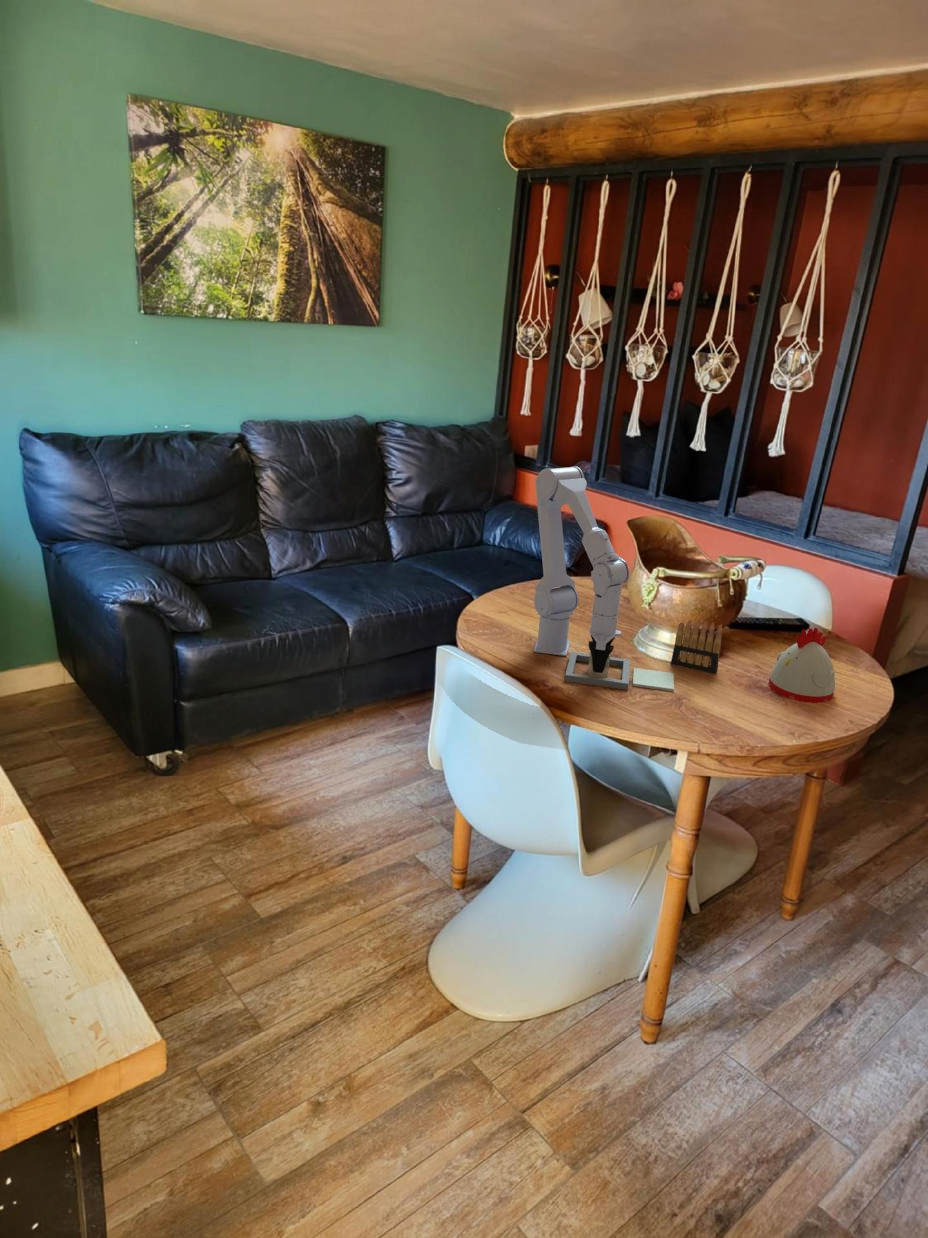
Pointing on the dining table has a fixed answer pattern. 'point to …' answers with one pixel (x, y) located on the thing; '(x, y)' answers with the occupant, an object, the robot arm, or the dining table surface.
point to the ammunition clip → (697, 648)
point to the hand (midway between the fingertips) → (598, 667)
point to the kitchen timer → (804, 670)
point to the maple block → (597, 674)
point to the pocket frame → (593, 679)
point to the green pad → (653, 679)
